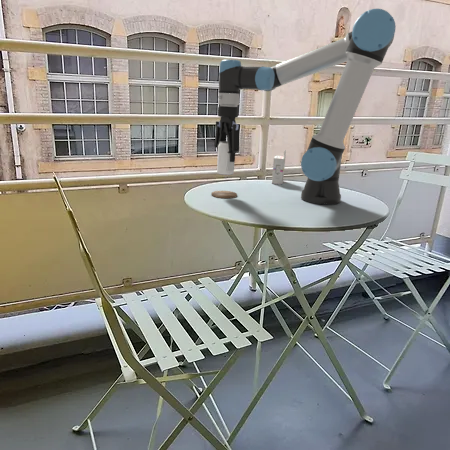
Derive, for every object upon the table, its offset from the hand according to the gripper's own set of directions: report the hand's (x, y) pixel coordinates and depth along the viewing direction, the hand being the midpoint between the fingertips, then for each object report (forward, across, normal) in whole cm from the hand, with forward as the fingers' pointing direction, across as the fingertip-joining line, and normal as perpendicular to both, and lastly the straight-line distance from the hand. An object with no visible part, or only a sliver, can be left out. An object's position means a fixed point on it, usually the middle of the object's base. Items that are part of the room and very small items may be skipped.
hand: (225, 168), depth 150 cm
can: (+2, 0, 0) cm, 2 cm away
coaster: (+10, 0, 0) cm, 10 cm away
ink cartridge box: (+11, -12, +36) cm, 39 cm away
